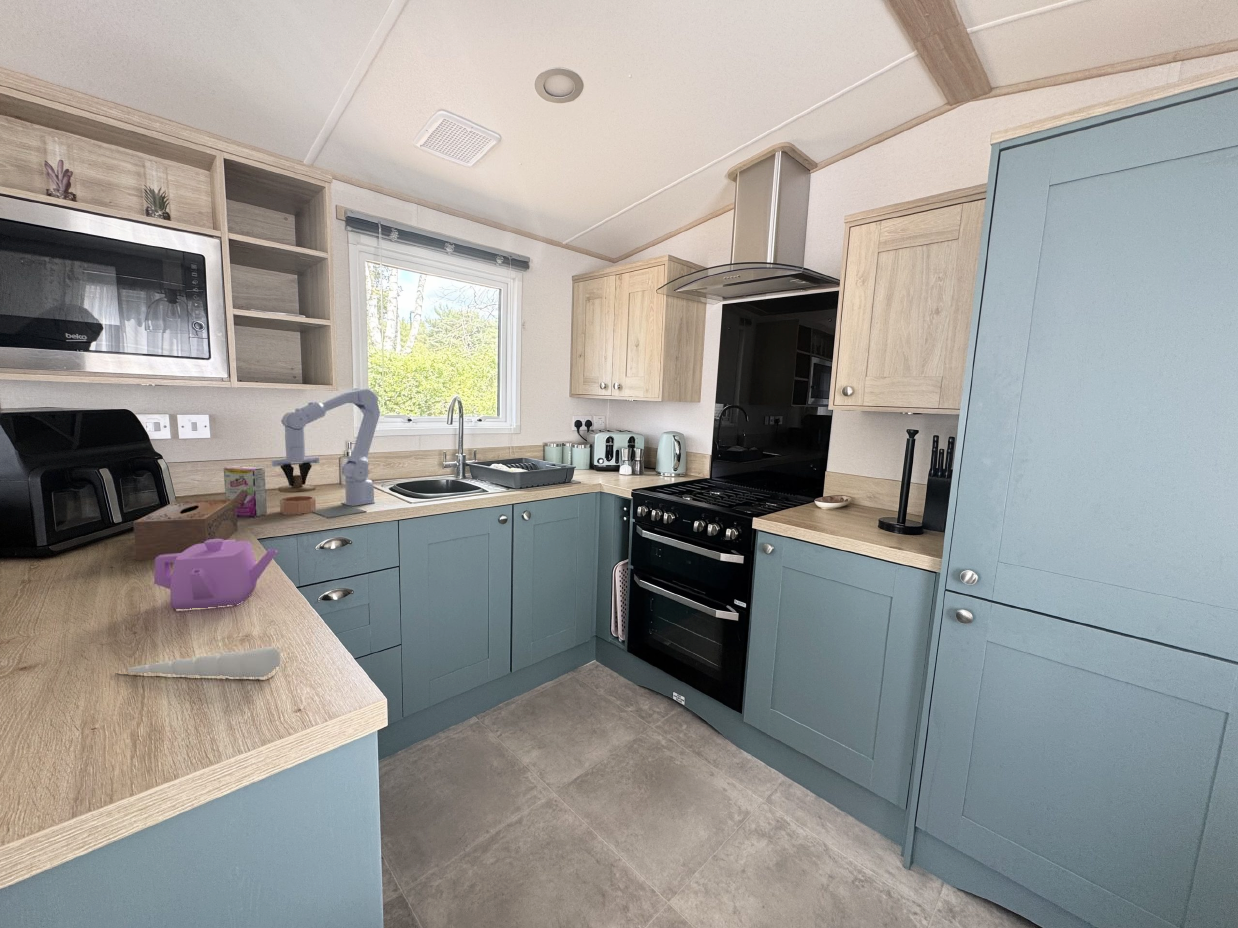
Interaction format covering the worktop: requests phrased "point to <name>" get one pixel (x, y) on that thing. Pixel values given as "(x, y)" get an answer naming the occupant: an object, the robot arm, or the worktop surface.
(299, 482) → the lid
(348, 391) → the robot arm
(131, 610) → the worktop surface
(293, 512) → the bowl
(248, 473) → the candy bar box
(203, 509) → the tissue box cover
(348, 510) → the mat
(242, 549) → the teakettle
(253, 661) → the unicorn horn
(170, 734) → the worktop surface
